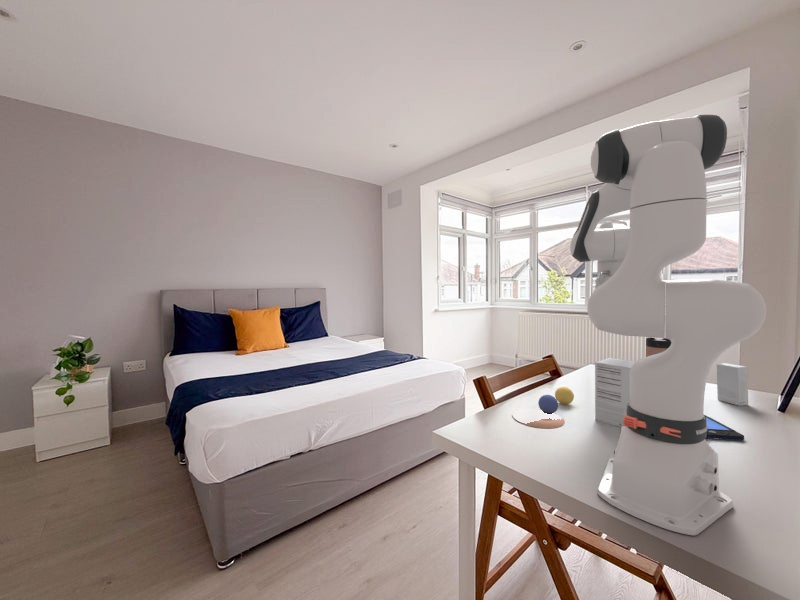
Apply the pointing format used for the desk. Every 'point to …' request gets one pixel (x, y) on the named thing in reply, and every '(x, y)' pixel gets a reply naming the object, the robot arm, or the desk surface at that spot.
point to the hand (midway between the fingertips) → (612, 312)
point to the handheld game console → (721, 431)
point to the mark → (547, 423)
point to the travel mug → (656, 346)
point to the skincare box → (732, 383)
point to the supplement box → (612, 390)
